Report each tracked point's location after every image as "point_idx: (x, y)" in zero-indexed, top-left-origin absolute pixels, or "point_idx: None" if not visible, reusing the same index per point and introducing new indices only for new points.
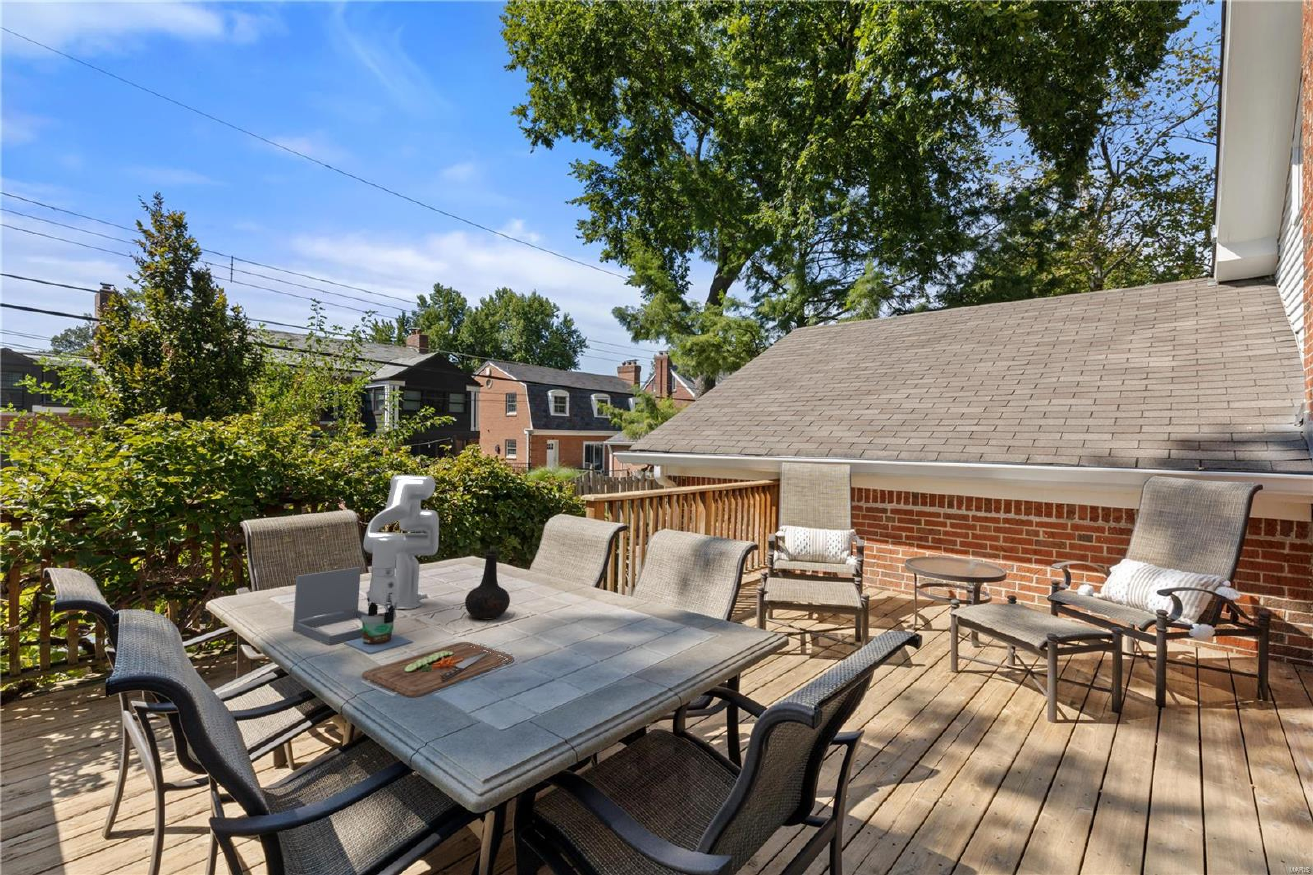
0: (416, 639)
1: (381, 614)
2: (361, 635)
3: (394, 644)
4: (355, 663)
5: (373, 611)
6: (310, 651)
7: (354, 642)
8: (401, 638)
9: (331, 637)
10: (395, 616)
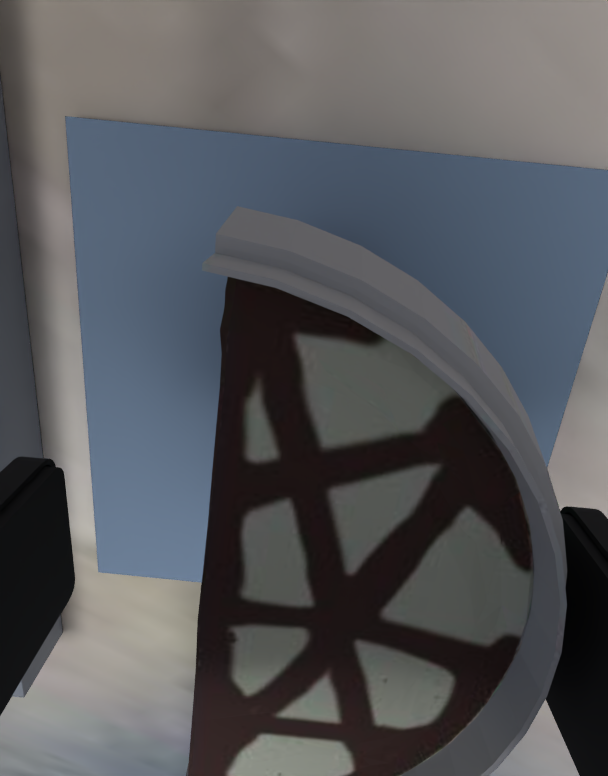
0: (584, 46)
1: (290, 602)
2: (23, 394)
3: (525, 374)
4: (546, 734)
5: (10, 610)
6: (99, 739)
7: (166, 533)
8: (437, 188)
9: (28, 676)
10: (512, 390)
